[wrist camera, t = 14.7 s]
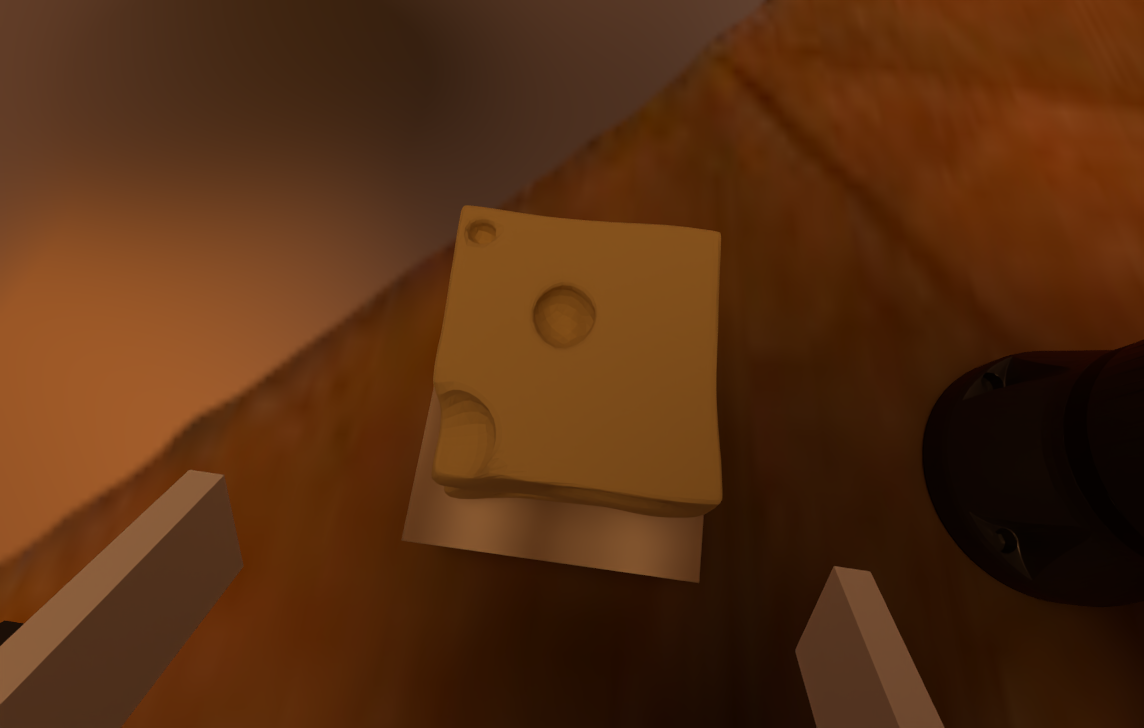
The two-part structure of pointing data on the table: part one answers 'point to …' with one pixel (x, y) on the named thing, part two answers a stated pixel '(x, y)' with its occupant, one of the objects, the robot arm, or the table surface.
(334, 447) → the table surface
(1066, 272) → the table surface
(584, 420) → the cheese
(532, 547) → the chevron patterned block
